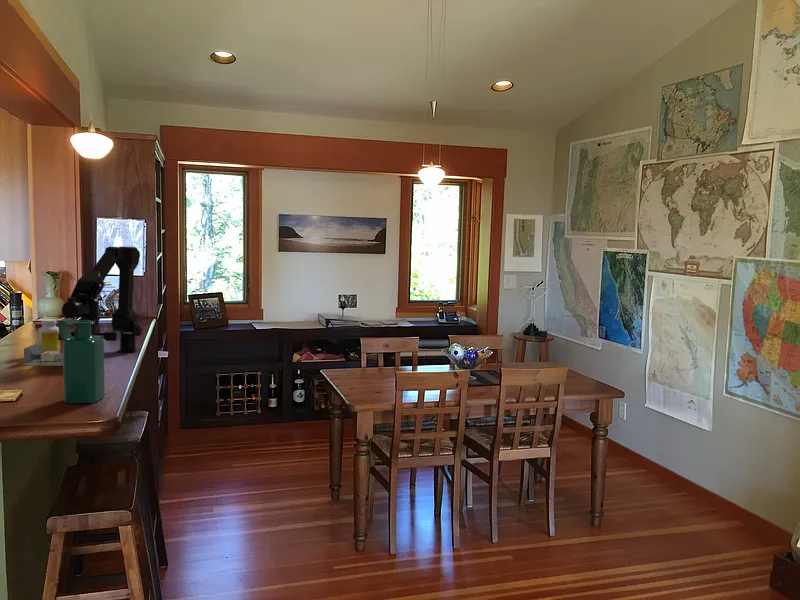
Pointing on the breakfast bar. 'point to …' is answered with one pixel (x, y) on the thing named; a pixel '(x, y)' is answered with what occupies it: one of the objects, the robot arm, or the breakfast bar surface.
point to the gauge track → (38, 357)
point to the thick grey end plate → (51, 356)
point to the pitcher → (82, 362)
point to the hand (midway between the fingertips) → (90, 359)
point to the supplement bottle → (49, 336)
